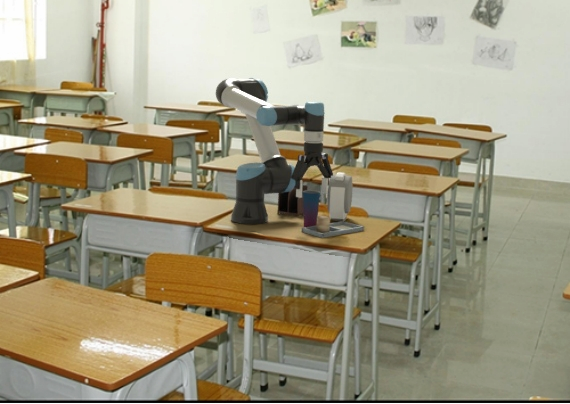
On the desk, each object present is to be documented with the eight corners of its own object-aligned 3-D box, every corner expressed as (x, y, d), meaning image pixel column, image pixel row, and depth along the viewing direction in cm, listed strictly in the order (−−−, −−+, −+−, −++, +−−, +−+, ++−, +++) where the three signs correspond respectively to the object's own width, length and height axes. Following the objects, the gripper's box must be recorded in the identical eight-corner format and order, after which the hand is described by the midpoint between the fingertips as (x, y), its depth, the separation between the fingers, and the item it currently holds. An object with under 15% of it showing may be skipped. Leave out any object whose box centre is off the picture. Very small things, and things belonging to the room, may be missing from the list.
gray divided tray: (301, 234, 309) (301, 227, 308) (342, 227, 323) (343, 221, 323) (322, 240, 300) (322, 233, 300) (363, 232, 315) (363, 226, 314)
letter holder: (277, 213, 346) (278, 181, 343) (296, 206, 363) (297, 175, 361) (298, 216, 342) (299, 184, 339) (316, 208, 359) (317, 177, 357)
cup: (317, 231, 315) (318, 193, 312) (300, 229, 316) (301, 192, 313) (319, 227, 321) (321, 190, 318) (303, 226, 322) (304, 189, 320)
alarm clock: (332, 215, 345) (334, 169, 341) (351, 216, 344) (353, 170, 340) (325, 224, 328) (327, 175, 324) (346, 225, 326) (348, 176, 322)
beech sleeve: (313, 232, 308) (314, 217, 307) (323, 230, 311) (323, 215, 310) (322, 234, 304) (323, 219, 303) (332, 233, 308) (332, 218, 307)
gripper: (296, 144, 301) (294, 200, 305) (343, 141, 317) (341, 194, 321) (283, 142, 306) (281, 197, 310) (330, 139, 323) (328, 191, 326)
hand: (311, 195), depth 316 cm, fingers open, 13 cm apart
